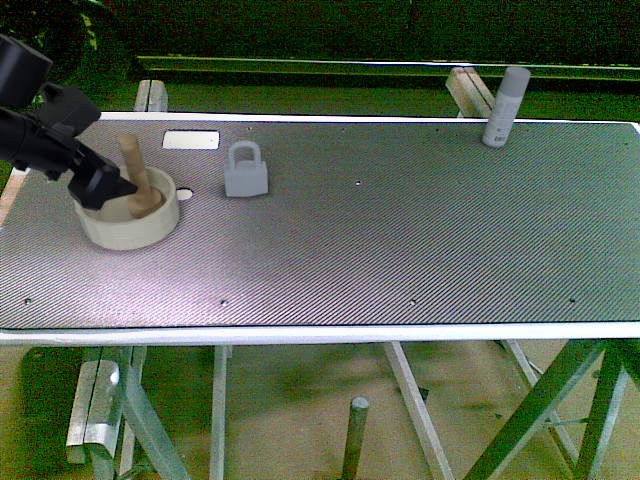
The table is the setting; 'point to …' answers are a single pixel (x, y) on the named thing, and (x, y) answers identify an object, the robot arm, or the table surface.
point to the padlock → (245, 172)
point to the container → (506, 106)
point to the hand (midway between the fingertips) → (119, 175)
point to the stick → (138, 179)
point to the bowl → (121, 228)
